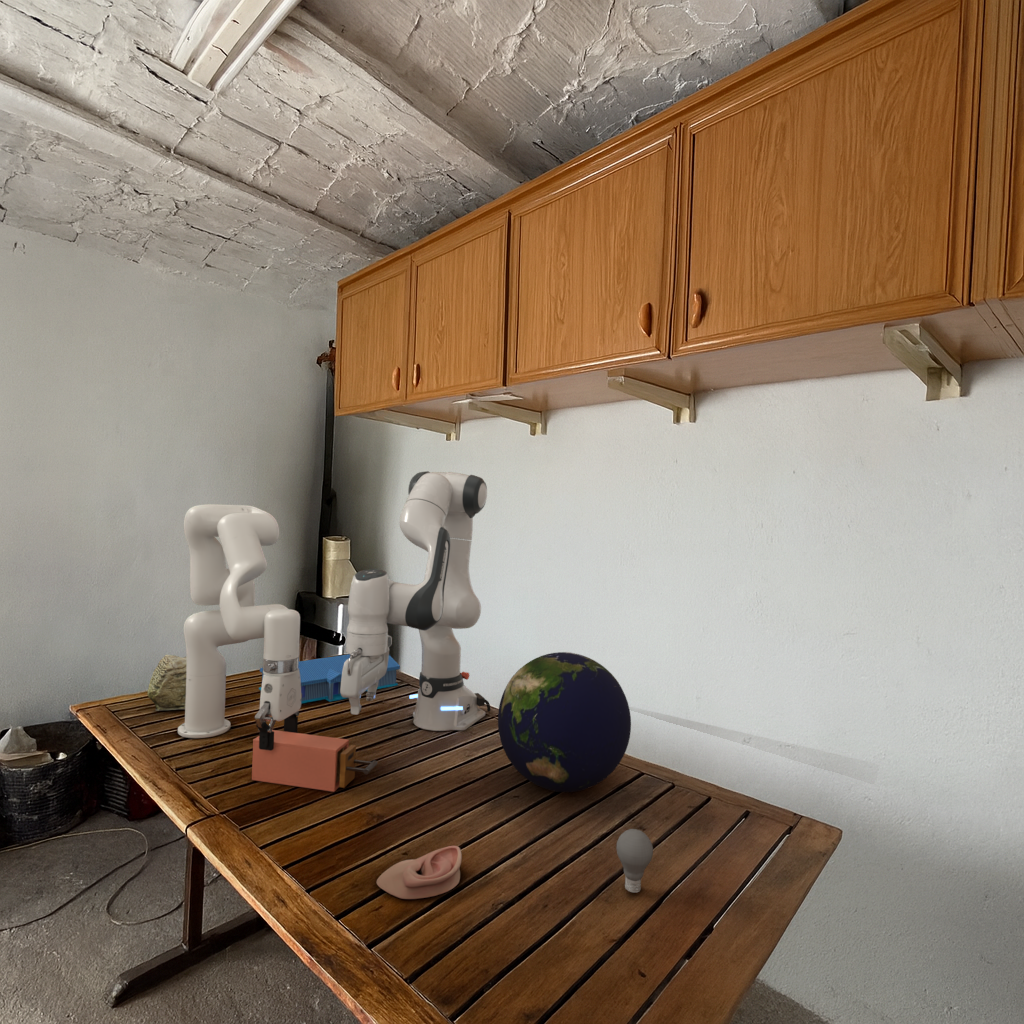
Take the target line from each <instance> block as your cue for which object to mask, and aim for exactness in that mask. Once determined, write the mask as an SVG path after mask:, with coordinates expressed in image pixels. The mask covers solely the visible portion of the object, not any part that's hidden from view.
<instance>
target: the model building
mask: <svg viewBox="0 0 1024 1024" xmlns="http://www.w3.org/2000/svg"><path fill="white" fill-rule="evenodd" d="M349 658H350V654H348V653H347V654H342V655H341V654H340V655H335V656H329V657H328V656H327V657H321V658H315V659H314V658H313V659H307V660H299V672H300V679H301V693H302V698H301V705H302V704H307V703H312V702H317V701H323V700H325V701H327V702H329V703H330V702H335V701H341V700H346V699H347V700H348V698H345V697H342V696H341V692H340V689H341V679H342V671H343V666H344V663H345V661H346V660H347V659H349ZM400 669H401V665H400V664H399V663H398V662H397V661H396V660H395V659H394V658H393V657H392V656H391V654H389V658H388V666H387V671H386V674H385V675H384V676H383V677H382V678H381V679H379V683H378V687H377V690H381V689H385V688H390V687H391V688H392V687H395V686H399V683H398V682H397V670H400ZM259 672H260V673H261V681H262V680H263V675H264V674H263V667H260V668H259ZM261 687H262V686H260V687H258V690H260V691H261ZM365 692H368V689H367V690H366V691H365Z"/></svg>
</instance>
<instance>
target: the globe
mask: <svg viewBox="0 0 1024 1024" xmlns="http://www.w3.org/2000/svg"><path fill="white" fill-rule="evenodd" d="M497 712H498V713H497V730H498V735H499V740H500V743H501V746H502V749H503V751H504V753H505V756H506V757H507V759H508V761H509V762H510V764H511V765H512V766H513V768H515V770H516V771H517V772H518V773H519V774H520V775H521V776H522V777H524V778H525V779H526V780H527V781H529V782H530V783H532V784H533V785H534V786H535V785H536V786H538V787H540V788H542V789H545V790H547V791H551V792H557V793H574V792H581V791H584V790H587V789H591V788H593V787H594V786H597V785H598V784H600V783H601V782H603V781H604V780H605V779H607V778H608V777H609V776H610V775H611V774H612V773H613V772H614V771H615V770H616V768H617V767H618V766H619V765H620V763H621V762H622V760H623V758H624V756H625V754H626V751H627V749H628V745H629V742H630V738H631V731H632V730H631V729H632V717H631V710H630V705H629V702H628V698H627V697H626V694H625V692H624V690H623V687H622V686H621V684H620V683H619V681H618V680H617V678H616V677H615V676H614V675H613V673H612V672H610V671H609V669H607V668H606V667H605V666H604V665H602V664H601V663H600V662H598V661H596V660H594V659H592V658H590V657H588V656H586V655H582V654H579V653H575V652H570V651H561V652H559V651H558V652H551V653H547V654H543V655H540V656H538V657H536V658H534V659H532V660H529V661H528V662H527V663H525V664H524V665H523V666H521V667H520V668H519V669H518V670H517V671H516V672H514V674H513V676H512V677H511V678H510V679H509V681H508V682H507V684H506V686H505V688H504V691H503V692H502V696H501V698H500V701H499V705H498V711H497Z"/></svg>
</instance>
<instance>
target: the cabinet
mask: <svg viewBox="0 0 1024 1024" xmlns="http://www.w3.org/2000/svg"><path fill="white" fill-rule="evenodd" d="M272 731H274V749H273V750H271V751H270V750H262V749H259V735H258V736H256V737H255V738H253V739H252V760H251V761H252V765H251V781H256V782H264V783H271V784H275V785H284V786H290V787H291V786H292V787H298V788H304V789H313V790H319V791H325V792H332V793H334V792H336V791H337V790H338V789H339V788H340V787H339V782H340V780H339V781H338V782H337V783H336V769H337V752H338V751H339V750H341V749H342V748H343V747H344V746H345V748H344V750H346V749H347V748H348V747H349V746H350V739H348V738H339V737H332V736H331V737H330V736H324V735H315V734H307V733H299V732H297V733H293V732H285V731H284V730H277V729H273V730H272Z"/></svg>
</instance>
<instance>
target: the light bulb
mask: <svg viewBox="0 0 1024 1024" xmlns="http://www.w3.org/2000/svg"><path fill="white" fill-rule="evenodd" d="M615 849H616V854H617V857H618V859H619V861H620V863H621V865H622V867H623V873H624V874H623V875H624V876H625V878H624V888H625V890H627V891H628V892H630V893H634V894H635V893H639V892H640V891H641V889H642V887H641V886H642V879H643V877H644V875H645V871H646V868H647V867H648V866H649V864H650V863H651V861H652V859H653V855H654V847H653V843H652V841H651V838H649V836H648V835H647V834H646V833H645V832H643V831H642V830H641V829H636V828H629V829H627V830H625V831H623V832H622V833H621V834H620V835H619V837H618V839H617V841H616V847H615Z"/></svg>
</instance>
